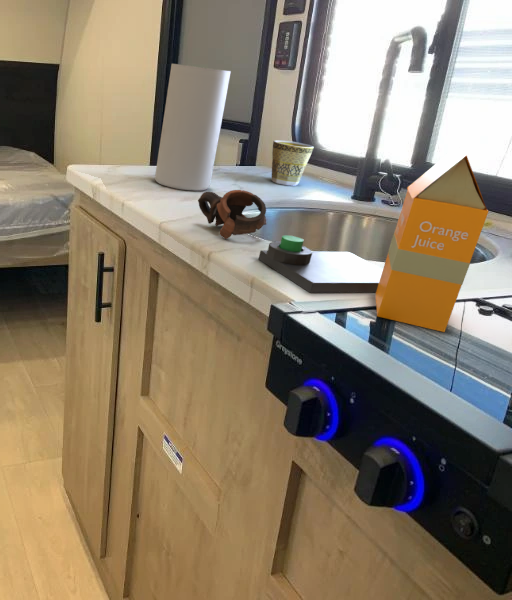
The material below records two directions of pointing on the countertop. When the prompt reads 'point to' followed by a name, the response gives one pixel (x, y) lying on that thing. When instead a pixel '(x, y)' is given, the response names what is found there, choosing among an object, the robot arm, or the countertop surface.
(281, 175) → the ceramic cup
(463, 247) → the orange juice
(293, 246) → the button
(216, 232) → the countertop surface
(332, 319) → the countertop surface
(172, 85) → the cylinder vase
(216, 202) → the broken mug
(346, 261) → the scale
